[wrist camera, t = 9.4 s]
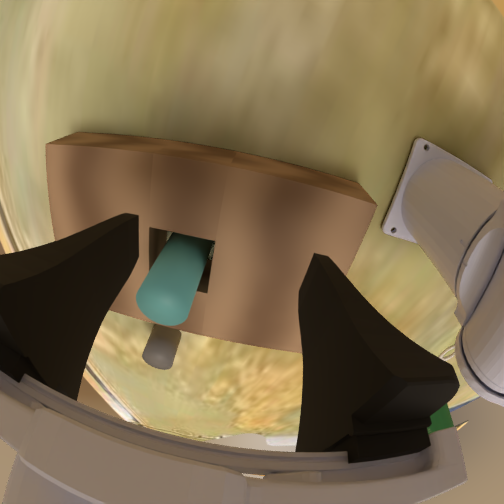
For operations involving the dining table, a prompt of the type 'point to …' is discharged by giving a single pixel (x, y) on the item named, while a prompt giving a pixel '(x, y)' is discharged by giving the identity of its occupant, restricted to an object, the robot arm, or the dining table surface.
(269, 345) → the walnut hole block
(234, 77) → the dining table surface
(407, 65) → the dining table surface
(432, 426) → the beverage can
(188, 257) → the teal pin
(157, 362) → the charcoal stub
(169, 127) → the dining table surface
